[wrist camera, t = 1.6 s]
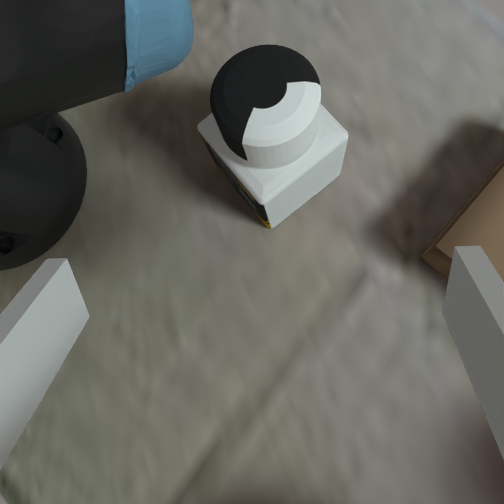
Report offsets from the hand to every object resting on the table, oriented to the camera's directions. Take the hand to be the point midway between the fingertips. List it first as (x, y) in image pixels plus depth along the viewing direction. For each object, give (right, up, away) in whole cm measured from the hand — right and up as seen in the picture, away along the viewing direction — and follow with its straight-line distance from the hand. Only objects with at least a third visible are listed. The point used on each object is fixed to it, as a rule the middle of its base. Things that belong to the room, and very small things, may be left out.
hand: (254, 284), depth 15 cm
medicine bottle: (+2, +8, +20) cm, 21 cm away
